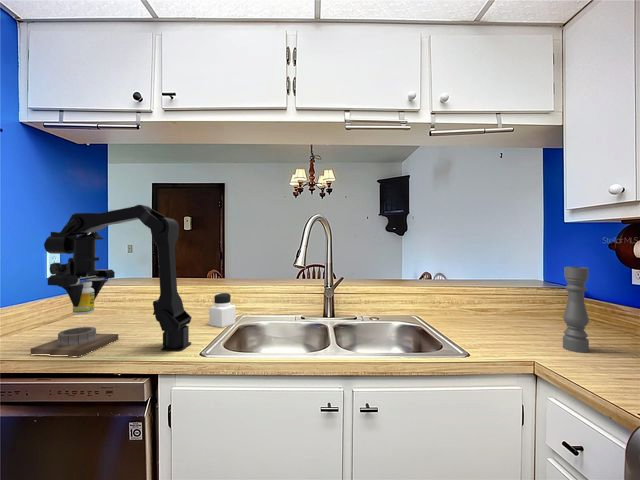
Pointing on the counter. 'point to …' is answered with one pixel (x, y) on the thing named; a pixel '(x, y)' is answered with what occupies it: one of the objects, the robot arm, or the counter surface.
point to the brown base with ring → (75, 342)
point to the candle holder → (576, 310)
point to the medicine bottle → (222, 311)
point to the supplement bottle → (85, 299)
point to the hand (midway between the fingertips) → (83, 304)
